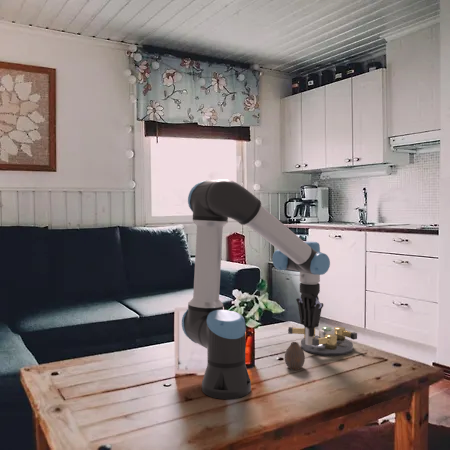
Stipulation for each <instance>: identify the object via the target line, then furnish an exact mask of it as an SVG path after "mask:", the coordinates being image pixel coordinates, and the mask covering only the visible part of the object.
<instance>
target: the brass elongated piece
mask: <svg viewBox="0 0 450 450" xmlns="http://www.w3.org/2000/svg"><path fill="white" fill-rule="evenodd" d="M333 330H335V335H337V341H344V340H345V339H346V338H350V339H351V340H357V339H358V333H357V332H354V331H350V330H346V327H344V326H335V327H333Z"/></svg>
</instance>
